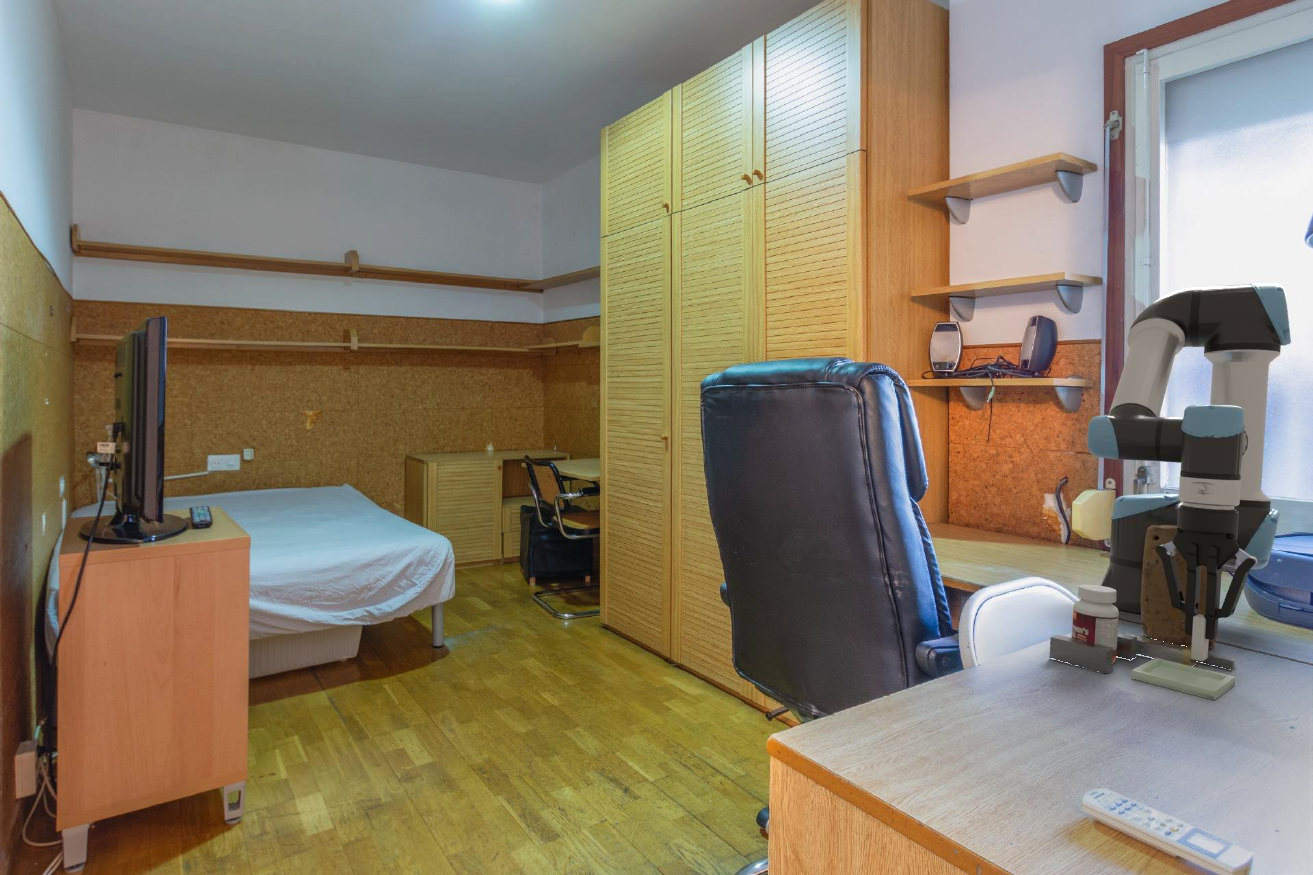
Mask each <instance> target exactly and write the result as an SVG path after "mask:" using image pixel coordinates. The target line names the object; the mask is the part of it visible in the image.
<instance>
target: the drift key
mask: <svg viewBox="0 0 1313 875" xmlns="http://www.w3.org/2000/svg"><path fill="white" fill-rule="evenodd" d="M1131 635H1132V636H1136V637H1137V653H1136V654H1141V655H1144V656H1149V657H1152V658H1159V659H1163V660H1167V661H1171V662H1175V663H1180V664H1184V665H1188V666H1193V665H1195V664H1196V665H1197V663H1196V660H1194V659H1191V648H1192V646H1191V645H1189V646H1187V647H1186V646H1181V645H1177V644H1172V643H1168V642H1163V641H1159V640H1154V639H1150V638H1148V637H1145V636H1140V635H1135V634H1131ZM1196 665H1195V666H1196ZM1193 667H1194V666H1193Z"/></svg>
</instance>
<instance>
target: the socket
mask: <svg viewBox="0 0 1313 875" xmlns="http://www.w3.org/2000/svg"><path fill="white" fill-rule="evenodd" d="M1132 635H1133V634H1126V633H1123V632H1118V635H1117V651H1116V656H1118V657H1122V658H1126V659H1130V660H1131V659H1132V658H1135V657H1136V658H1137V656H1136V653H1137V637H1136V636H1137V635H1136V636H1132ZM1049 640H1050V642H1049V658H1054V659H1056V660H1060V661H1063V662H1068V663H1070V664H1072V665H1071V666H1073V665H1078V666H1080V667H1079V668H1081V667H1084V668H1087V669H1086V670H1088V669H1092V670H1094V671H1093V672H1096V671H1099V672H1101V673H1100V674H1103V673H1107V674H1109V673H1110V672H1109V671H1111V672H1113V664H1114V663H1113V648H1112V647H1108V646H1104V645H1099V644H1095V643H1091V642H1087V641H1083V640H1078V639H1074V638H1072V637H1070V636H1066V635H1061V634H1058V633H1057V634H1055V635H1053V636H1051V637H1050V639H1049ZM1112 663H1113V664H1112ZM1084 668H1083V669H1084ZM1092 670H1091V671H1092ZM1099 672H1098V673H1099ZM1108 672H1109V673H1108Z"/></svg>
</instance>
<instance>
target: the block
mask: <svg viewBox="0 0 1313 875" xmlns="http://www.w3.org/2000/svg"><path fill="white" fill-rule="evenodd" d="M1176 531H1177V526H1171V525H1161V526H1150V527H1148V529H1147V533H1146V538H1145V547H1144V556H1143V571H1142V588H1141V613H1140V617H1141V618H1140V619H1141V626H1142V632H1144V635H1145V634H1146V635H1147V636H1148V637H1150V638H1152V639H1157V640H1159V641H1164V642H1168V643H1173V644H1177V645H1185V646H1189V645H1191V646H1192V636H1190V635H1186V633H1185V617H1186V616H1185V613H1184V612H1183V611H1181V610H1179V609H1176V608H1173V607H1172V604H1171V600H1170V595H1169V590H1168V586H1167V581H1166V577H1165V572H1164V567H1163V563H1162V560H1161V558H1160V557H1159V555H1158V554H1157V552H1156V550H1155V548H1156V547H1157V546H1159V545H1163V544H1166V543H1169V542H1171V541H1172V539H1173V536H1174V535H1175V534H1176ZM1174 556H1175V559H1176V562H1177V567H1178V571H1179V576H1180V580H1181V585H1182V590H1183V594H1184V599H1185V601H1186V584H1187V569H1186V568H1187V562H1186V561H1185V559H1184V558H1183V556H1182V555H1181V554H1180V552H1179V551H1178V549H1177V548H1176V555H1174ZM1206 589H1207V567H1206V566H1203V565H1202V570H1201V583H1200V599H1199V609H1200V611H1199V612H1198V614H1201V615H1205V607H1206ZM1218 632H1219V626H1218V627H1217V633H1218ZM1146 635H1145V636H1146ZM1147 636H1146V637H1147ZM1148 637H1147V638H1148ZM1217 637H1218V636H1217ZM1217 637H1216V638H1215V639H1214V640H1209V642H1208V649H1212V648H1214V647H1215V644H1216V641H1217Z"/></svg>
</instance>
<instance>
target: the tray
mask: <svg viewBox="0 0 1313 875" xmlns="http://www.w3.org/2000/svg"><path fill="white" fill-rule="evenodd" d="M1132 678H1133V680H1135V679H1136V681H1139V680H1140V682H1142V683H1147V682H1148V683H1147V684H1152V685H1154V686H1155V685H1156V686H1159V687H1162V688H1167V689H1170V690H1175V691H1178V692H1180V693H1181V692H1182V693H1185V694H1188V695H1193V696H1197V697H1200V698H1204V699H1206V700H1207V699H1208V700H1212V701H1215V700H1217V699H1218V698H1220V697H1221V696H1222V695H1223V694H1225V693H1227V692H1228V691H1229V690H1230V689H1232V688H1233V687H1234V686H1235V685H1236V676H1233V675H1229V674H1226V673H1222V672H1217V671H1213V670H1210V669H1203V668H1200V667H1196V666H1193V667H1192V666H1188V665H1184V664H1180V663H1175V662H1171V661H1167V660H1163V659H1159V658H1154V659H1149V661H1146V662H1145V663H1144V664H1141V665H1139V666H1137V667H1135V668H1134V669H1131V679H1132ZM1232 686H1233V687H1232Z"/></svg>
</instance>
